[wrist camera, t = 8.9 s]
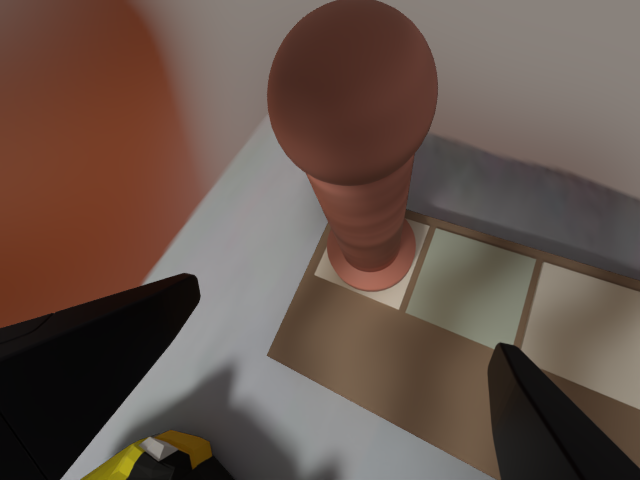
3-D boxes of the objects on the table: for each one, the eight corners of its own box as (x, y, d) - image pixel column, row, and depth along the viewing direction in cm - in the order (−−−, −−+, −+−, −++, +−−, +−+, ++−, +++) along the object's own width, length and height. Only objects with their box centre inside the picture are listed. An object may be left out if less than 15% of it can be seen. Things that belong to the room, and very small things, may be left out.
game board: (667, 297, 16) (688, 293, 15) (629, 546, 13) (652, 564, 12) (344, 196, 22) (342, 188, 21) (272, 355, 19) (265, 355, 18)
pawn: (432, 251, 18) (571, -15, 5) (369, 310, 18) (324, 204, 4) (371, 198, 20) (347, -99, 7) (314, 250, 20) (164, 47, 6)
